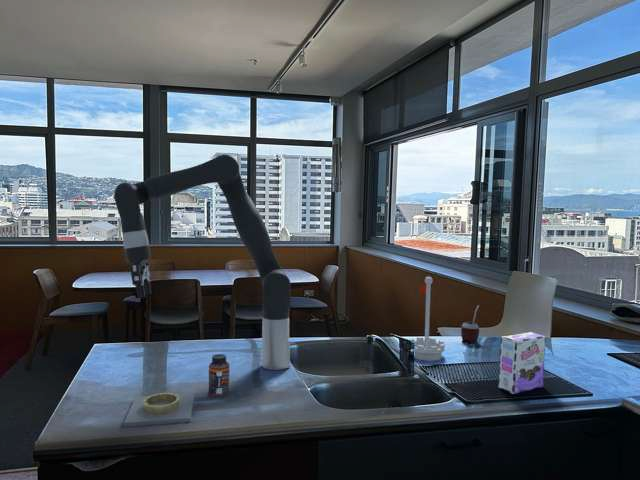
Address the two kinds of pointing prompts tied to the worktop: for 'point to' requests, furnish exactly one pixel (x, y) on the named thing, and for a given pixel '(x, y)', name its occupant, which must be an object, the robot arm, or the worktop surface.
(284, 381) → the worktop surface
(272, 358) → the robot arm
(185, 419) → the grey square plate
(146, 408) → the brass collar
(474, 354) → the worktop surface
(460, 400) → the worktop surface
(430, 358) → the flag stand
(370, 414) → the worktop surface
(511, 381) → the candy box
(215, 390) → the supplement bottle
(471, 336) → the mate gourd
